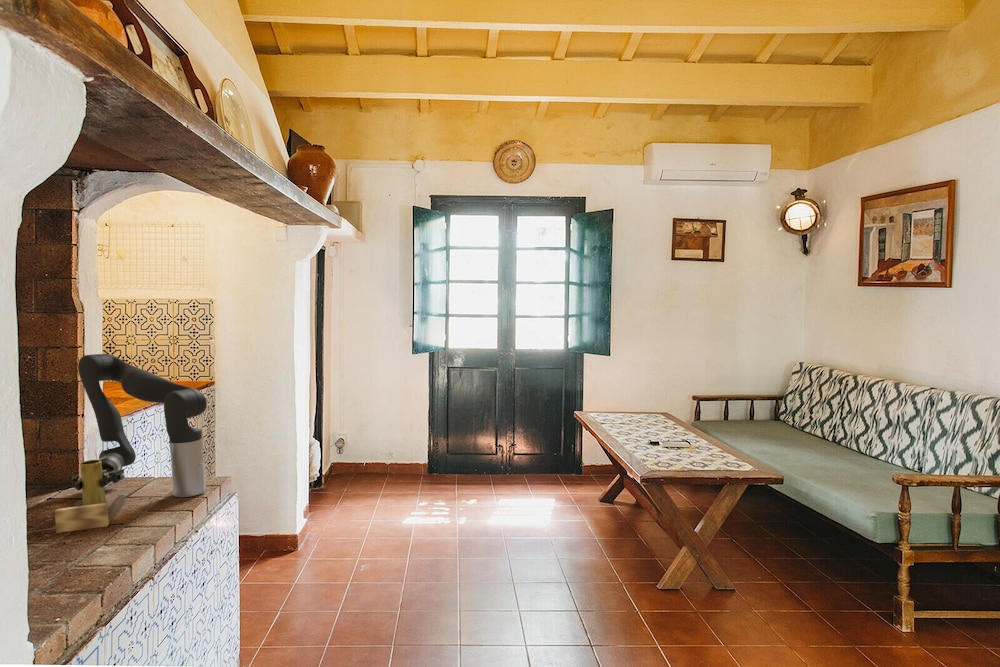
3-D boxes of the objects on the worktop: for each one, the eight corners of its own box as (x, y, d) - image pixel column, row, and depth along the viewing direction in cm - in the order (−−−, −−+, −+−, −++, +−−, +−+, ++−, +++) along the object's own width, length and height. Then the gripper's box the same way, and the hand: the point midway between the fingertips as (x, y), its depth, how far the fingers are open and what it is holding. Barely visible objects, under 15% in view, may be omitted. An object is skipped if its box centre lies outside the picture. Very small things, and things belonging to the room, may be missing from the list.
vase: (95, 513, 186) (91, 465, 184) (77, 513, 187) (72, 464, 186) (111, 506, 192) (108, 459, 190) (94, 505, 193) (90, 458, 192)
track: (124, 502, 199) (123, 483, 199) (107, 526, 178) (105, 504, 178) (79, 508, 195) (78, 488, 195) (56, 532, 174) (54, 511, 174)
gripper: (77, 461, 199) (60, 475, 183) (130, 455, 204) (117, 469, 188) (79, 484, 200) (62, 501, 184) (131, 479, 205) (119, 494, 189)
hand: (90, 485), depth 186 cm, fingers closed on vase, 5 cm apart
